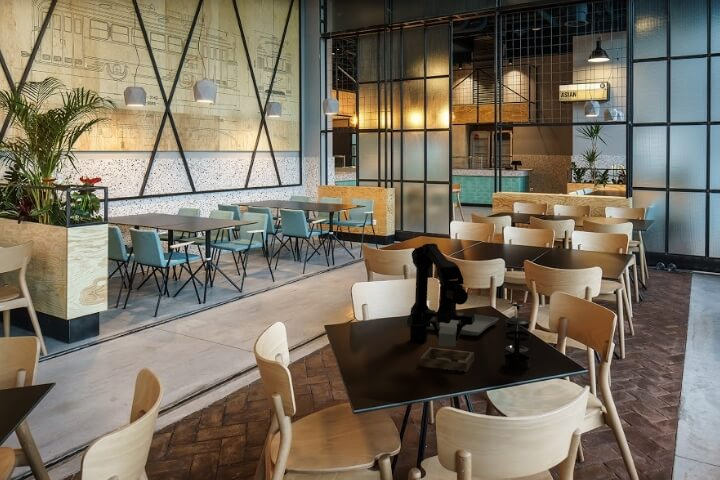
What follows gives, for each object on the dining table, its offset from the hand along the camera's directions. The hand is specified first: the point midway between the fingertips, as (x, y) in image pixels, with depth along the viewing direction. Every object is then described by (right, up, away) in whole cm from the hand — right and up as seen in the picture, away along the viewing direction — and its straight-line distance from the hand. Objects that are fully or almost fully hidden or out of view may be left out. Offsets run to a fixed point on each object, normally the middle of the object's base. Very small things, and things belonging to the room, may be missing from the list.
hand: (447, 339), depth 218 cm
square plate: (+13, -3, +48) cm, 50 cm away
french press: (+25, -9, -1) cm, 27 cm away
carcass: (0, -9, +1) cm, 9 cm away
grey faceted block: (0, -1, 0) cm, 1 cm away
